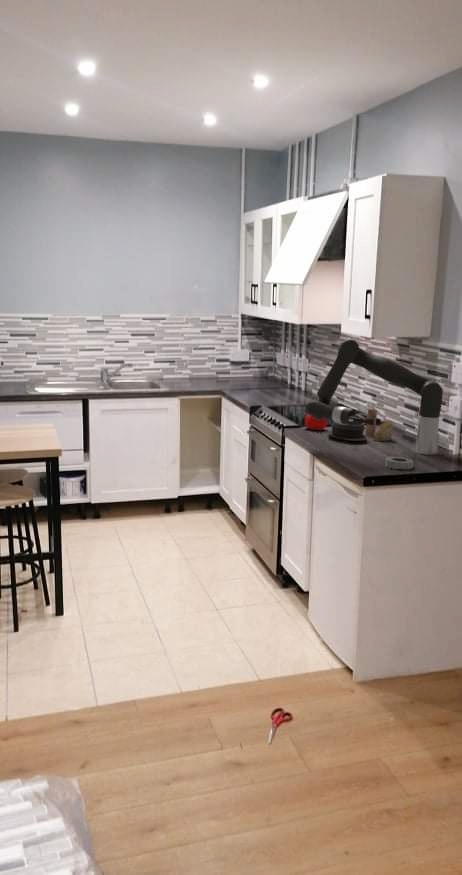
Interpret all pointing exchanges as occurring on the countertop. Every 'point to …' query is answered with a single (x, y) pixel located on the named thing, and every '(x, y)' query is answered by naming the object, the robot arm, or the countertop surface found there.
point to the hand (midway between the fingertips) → (376, 422)
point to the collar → (398, 463)
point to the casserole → (347, 432)
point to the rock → (384, 432)
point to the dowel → (371, 428)
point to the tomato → (315, 423)
